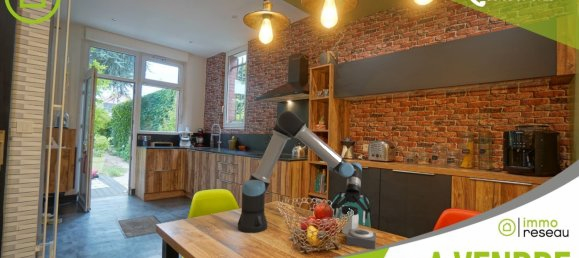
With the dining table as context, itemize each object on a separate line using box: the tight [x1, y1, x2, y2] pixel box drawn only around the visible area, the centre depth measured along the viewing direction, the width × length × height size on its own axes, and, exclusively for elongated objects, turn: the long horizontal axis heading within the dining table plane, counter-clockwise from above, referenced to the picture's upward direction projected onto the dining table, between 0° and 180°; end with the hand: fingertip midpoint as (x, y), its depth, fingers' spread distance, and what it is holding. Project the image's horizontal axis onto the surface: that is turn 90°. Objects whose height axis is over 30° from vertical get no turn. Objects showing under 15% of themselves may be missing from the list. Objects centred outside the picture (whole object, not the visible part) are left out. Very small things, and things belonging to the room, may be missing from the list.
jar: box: [340, 205, 360, 235], centre depth 135 cm, size 9×8×12 cm
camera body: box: [345, 228, 377, 250], centre depth 122 cm, size 12×11×4 cm
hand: (349, 222), depth 134 cm, fingers open, 13 cm apart
